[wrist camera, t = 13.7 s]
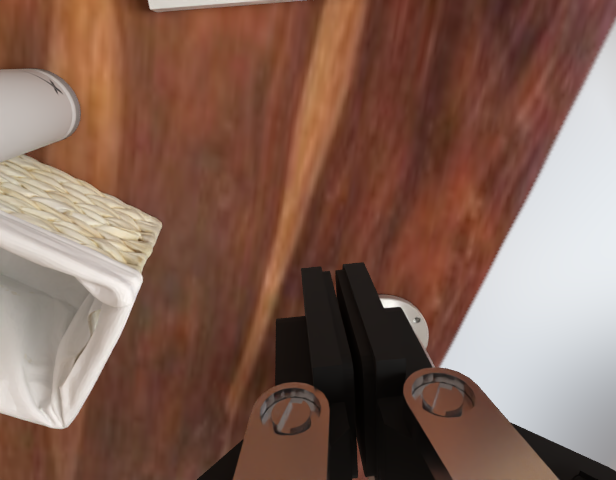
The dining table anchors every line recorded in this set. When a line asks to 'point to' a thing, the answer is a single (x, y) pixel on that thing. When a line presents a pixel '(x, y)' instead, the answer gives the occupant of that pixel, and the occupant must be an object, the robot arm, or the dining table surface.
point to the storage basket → (62, 286)
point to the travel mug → (34, 111)
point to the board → (203, 4)
